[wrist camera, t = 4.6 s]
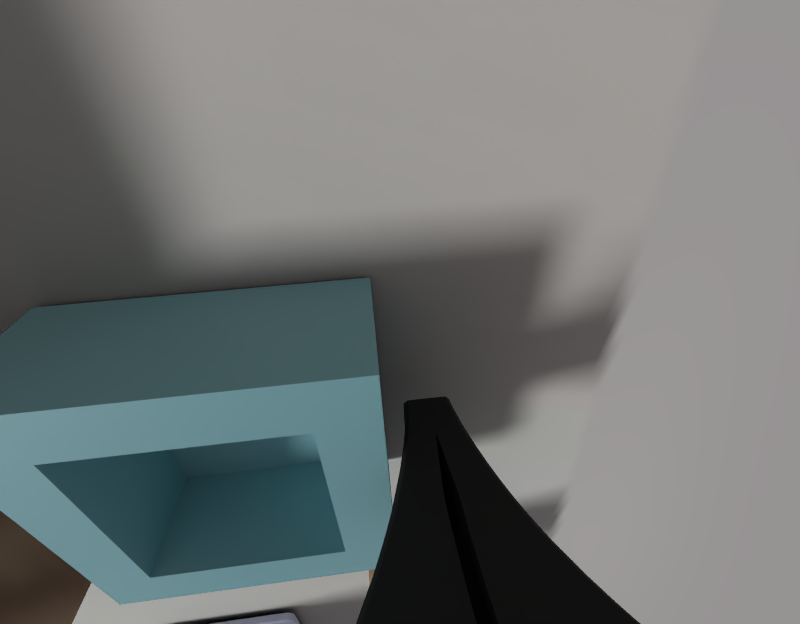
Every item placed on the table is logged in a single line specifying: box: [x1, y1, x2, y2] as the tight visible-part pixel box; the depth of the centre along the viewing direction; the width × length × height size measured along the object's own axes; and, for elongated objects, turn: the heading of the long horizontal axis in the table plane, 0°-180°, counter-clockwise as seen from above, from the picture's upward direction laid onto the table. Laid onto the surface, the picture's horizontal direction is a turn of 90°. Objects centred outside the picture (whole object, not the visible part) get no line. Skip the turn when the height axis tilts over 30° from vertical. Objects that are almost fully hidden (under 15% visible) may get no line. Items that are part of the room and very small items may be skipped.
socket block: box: [0, 277, 392, 604], centre depth 11 cm, size 9×9×4 cm
